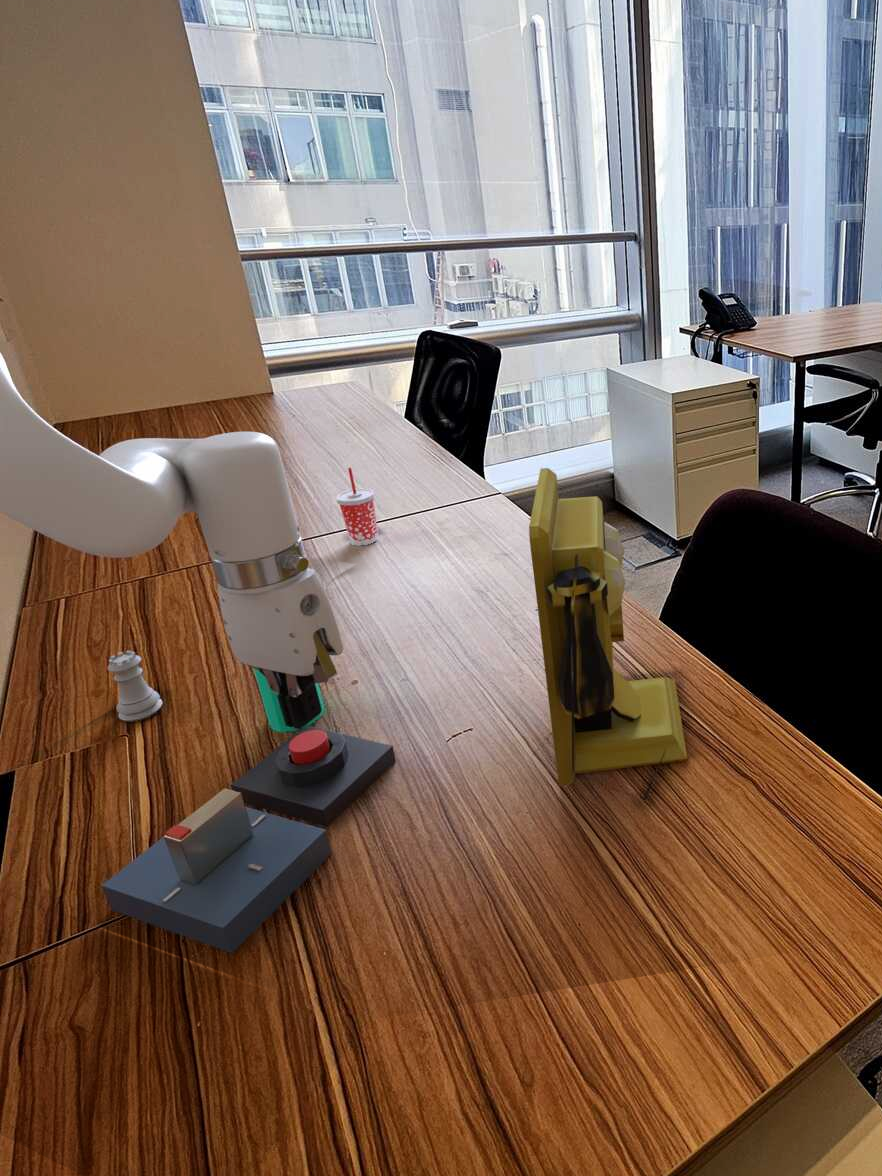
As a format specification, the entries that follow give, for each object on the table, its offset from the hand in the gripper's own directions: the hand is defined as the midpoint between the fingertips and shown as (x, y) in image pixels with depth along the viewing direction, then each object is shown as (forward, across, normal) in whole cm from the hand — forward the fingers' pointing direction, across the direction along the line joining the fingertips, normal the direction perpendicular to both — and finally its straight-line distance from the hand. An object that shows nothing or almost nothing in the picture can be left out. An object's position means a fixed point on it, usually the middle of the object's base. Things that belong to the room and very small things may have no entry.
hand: (304, 719), depth 81 cm
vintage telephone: (+8, -28, -17) cm, 34 cm away
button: (+4, 0, 0) cm, 4 cm away
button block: (+8, 0, 0) cm, 8 cm away
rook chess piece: (+8, +30, -3) cm, 31 cm away
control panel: (+8, -2, +13) cm, 16 cm away
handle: (+5, -2, +13) cm, 14 cm away
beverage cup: (+8, +40, -52) cm, 66 cm away
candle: (+8, +11, -8) cm, 16 cm away
